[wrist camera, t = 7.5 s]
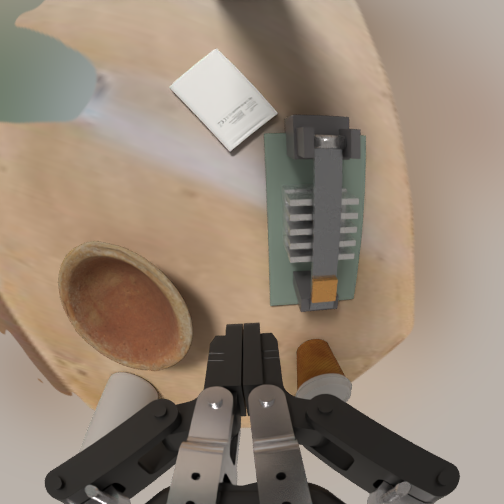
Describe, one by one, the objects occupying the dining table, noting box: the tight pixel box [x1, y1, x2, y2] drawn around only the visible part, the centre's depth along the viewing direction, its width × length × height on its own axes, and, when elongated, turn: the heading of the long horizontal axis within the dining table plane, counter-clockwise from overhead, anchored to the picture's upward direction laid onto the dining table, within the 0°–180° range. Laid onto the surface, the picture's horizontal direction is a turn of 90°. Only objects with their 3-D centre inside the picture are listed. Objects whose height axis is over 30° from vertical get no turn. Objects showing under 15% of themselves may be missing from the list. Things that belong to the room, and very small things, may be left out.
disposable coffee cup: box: [295, 339, 352, 402], centre depth 44 cm, size 10×10×12 cm
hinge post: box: [284, 115, 361, 160], centre depth 29 cm, size 5×6×11 cm
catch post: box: [293, 270, 339, 312], centre depth 38 cm, size 2×5×8 cm, turn 93°
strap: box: [309, 134, 346, 310], centre depth 30 cm, size 21×4×2 cm, turn 3°
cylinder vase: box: [79, 372, 158, 453], centre depth 43 cm, size 12×12×25 cm
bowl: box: [58, 241, 193, 371], centre depth 40 cm, size 24×24×8 cm
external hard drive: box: [169, 49, 278, 152], centre depth 31 cm, size 2×8×12 cm
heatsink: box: [282, 184, 359, 263], centre depth 34 cm, size 8×8×8 cm
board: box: [264, 133, 366, 306], centre depth 39 cm, size 26×14×1 cm, turn 3°
